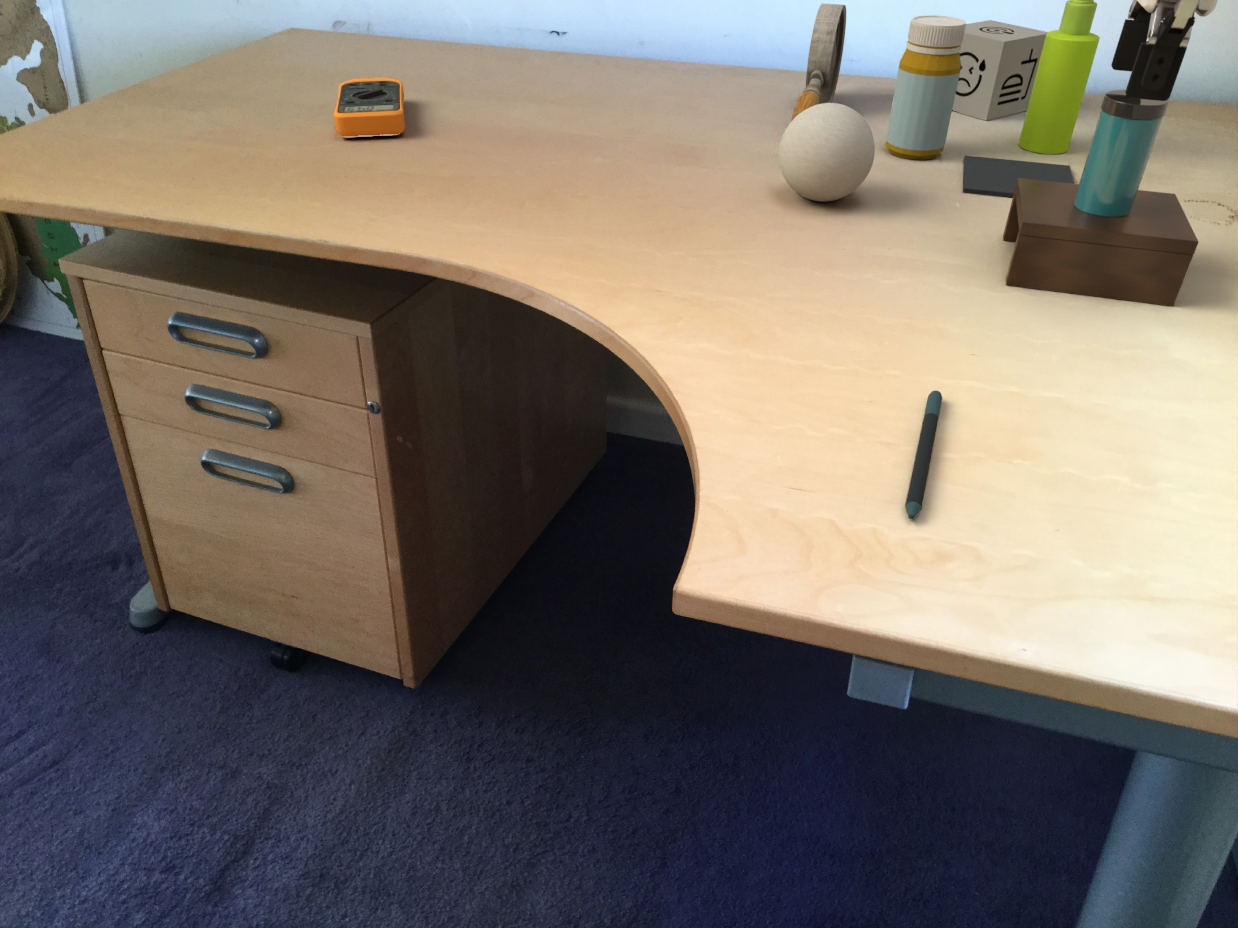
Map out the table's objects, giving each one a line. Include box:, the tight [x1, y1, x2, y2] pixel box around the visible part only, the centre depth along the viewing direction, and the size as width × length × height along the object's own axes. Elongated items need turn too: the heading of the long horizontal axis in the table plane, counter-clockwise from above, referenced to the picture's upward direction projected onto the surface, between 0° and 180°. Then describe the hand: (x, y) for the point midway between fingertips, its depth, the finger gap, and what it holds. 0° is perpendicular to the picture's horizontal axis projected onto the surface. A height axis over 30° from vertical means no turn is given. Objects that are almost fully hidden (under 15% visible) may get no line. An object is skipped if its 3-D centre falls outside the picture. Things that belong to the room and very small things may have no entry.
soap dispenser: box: [1018, 0, 1101, 155], centre depth 112 cm, size 6×7×20 cm
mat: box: [962, 154, 1075, 198], centre depth 108 cm, size 12×12×1 cm
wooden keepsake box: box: [1002, 178, 1200, 307], centre depth 87 cm, size 14×12×6 cm
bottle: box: [885, 14, 967, 161], centre depth 112 cm, size 7×7×15 cm
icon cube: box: [952, 19, 1048, 122], centre depth 130 cm, size 10×10×10 cm
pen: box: [905, 389, 943, 522], centre depth 63 cm, size 1×16×1 cm, turn 159°
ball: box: [778, 102, 876, 202], centre depth 100 cm, size 10×10×10 cm
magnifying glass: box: [789, 3, 847, 124], centre depth 126 cm, size 13×3×25 cm
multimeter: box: [333, 77, 406, 137], centre depth 125 cm, size 9×18×3 cm, turn 11°
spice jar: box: [1074, 89, 1170, 217], centre depth 82 cm, size 5×5×10 cm
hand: (1137, 84), depth 79 cm, fingers open, 9 cm apart
